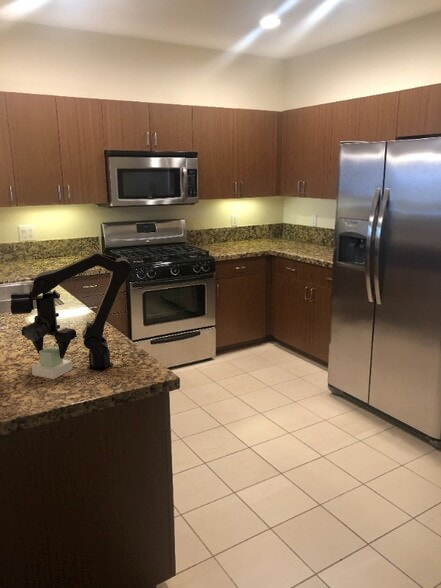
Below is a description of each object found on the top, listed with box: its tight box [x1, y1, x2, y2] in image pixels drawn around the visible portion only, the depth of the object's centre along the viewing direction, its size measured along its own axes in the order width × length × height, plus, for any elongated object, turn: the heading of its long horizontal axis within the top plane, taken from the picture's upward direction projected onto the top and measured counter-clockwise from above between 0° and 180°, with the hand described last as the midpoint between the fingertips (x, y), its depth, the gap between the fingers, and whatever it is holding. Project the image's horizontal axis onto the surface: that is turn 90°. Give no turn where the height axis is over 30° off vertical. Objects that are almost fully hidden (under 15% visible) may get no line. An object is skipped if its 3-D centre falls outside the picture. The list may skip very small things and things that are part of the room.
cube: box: [38, 345, 64, 367], centre depth 158 cm, size 5×5×5 cm
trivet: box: [31, 358, 73, 380], centre depth 159 cm, size 9×9×3 cm
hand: (51, 356), depth 158 cm, fingers open, 9 cm apart
